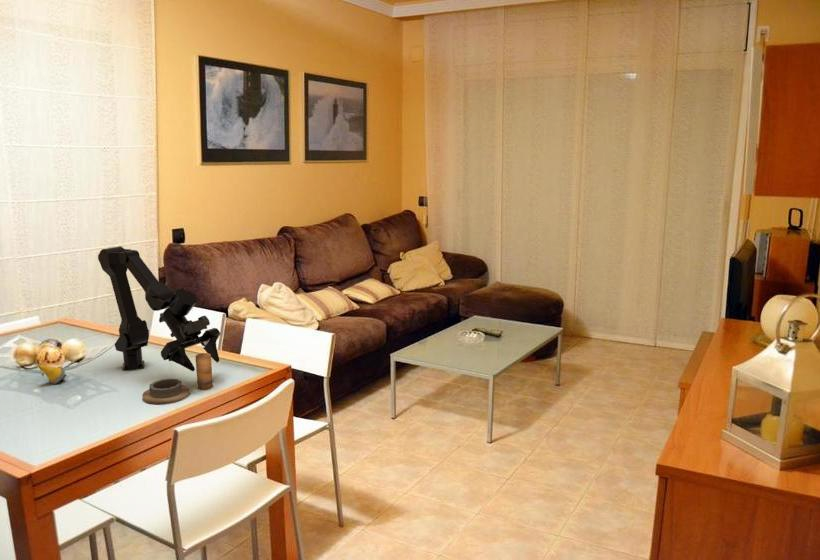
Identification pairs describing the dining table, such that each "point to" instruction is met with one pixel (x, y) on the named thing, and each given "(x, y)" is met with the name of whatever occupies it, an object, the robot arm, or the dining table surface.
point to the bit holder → (166, 392)
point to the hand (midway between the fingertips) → (206, 365)
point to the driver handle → (204, 371)
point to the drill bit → (53, 373)
